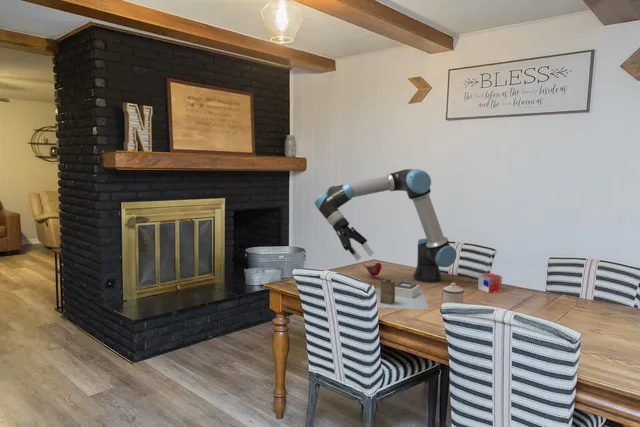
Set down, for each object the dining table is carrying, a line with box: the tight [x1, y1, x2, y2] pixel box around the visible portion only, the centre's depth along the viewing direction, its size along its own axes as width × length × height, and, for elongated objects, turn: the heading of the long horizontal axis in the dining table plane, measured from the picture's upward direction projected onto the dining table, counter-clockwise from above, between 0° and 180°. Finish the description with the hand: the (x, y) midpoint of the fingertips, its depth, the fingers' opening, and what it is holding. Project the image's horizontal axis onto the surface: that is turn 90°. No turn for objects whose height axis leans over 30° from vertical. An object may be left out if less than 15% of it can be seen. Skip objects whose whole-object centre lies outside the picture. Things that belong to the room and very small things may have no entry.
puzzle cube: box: [477, 272, 503, 293], centre depth 240 cm, size 8×8×8 cm
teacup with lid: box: [441, 282, 465, 304], centre depth 210 cm, size 12×9×12 cm
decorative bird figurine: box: [362, 262, 382, 280], centre depth 264 cm, size 3×18×10 cm, turn 30°
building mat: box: [374, 287, 430, 312], centre depth 222 cm, size 24×32×1 cm
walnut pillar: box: [380, 278, 396, 305], centre depth 215 cm, size 5×5×11 cm
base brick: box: [395, 280, 421, 299], centre depth 229 cm, size 11×11×5 cm
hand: (366, 256), depth 218 cm, fingers open, 13 cm apart
